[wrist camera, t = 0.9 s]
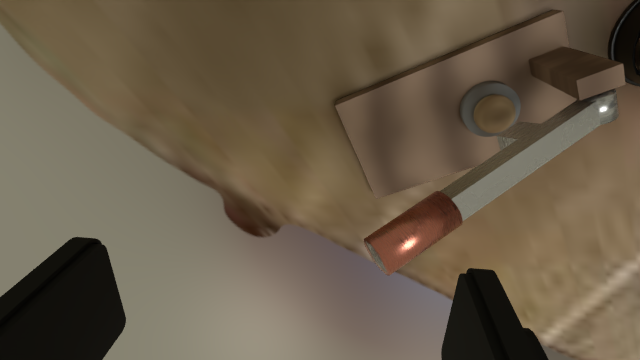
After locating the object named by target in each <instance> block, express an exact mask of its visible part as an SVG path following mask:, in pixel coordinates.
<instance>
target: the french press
mask: <svg viewBox="0 0 640 360" xmlns="http://www.w3.org/2000/svg"><path fill="white" fill-rule="evenodd" d="M639 35H640V0H635V1H634V2H633V3H632V4H631V5H630V6H629V7H628V8H627V9H626V10H625V11H624V12H623V14H622V15H621V17H620V18H619V20H618V21H617V23H616V25H615V27H614V29H613V31H612V34H611V37H610V41H609V49H608V54H609V59H610V60H613V61H617V62H620V63H623V66H624V75H625V82H628V83H630V84H632V85H635V86H640V71H639V70H637V68H636V65H635V48H636V44H637V41H638V38H639Z"/></svg>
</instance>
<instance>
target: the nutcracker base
mask: <svg viewBox="0 0 640 360" xmlns="http://www.w3.org/2000/svg"><path fill="white" fill-rule="evenodd" d="M623 85H626V84H625V75H624V66H623V63H620V62H617V61H613V60H610V59H606V58H603V57H599V56H596V55H592V54H589V53H585V52H582V51H578V50H575V49H571V48H570V47H569V41H568V35H567V29H566V23H565V17H564V11H560V10H552V11H549V12H547V13H544V14H542V15H540V16H537V17H535V18H532V19H530V20H528V21H525V22H523V23H521V24H518V25H516V26H513V27H511V28H509V29H506V30H504V31H501V32H499V33H497V34H494V35H492V36H490V37H487V38H485V39H482V40H480V41H478V42H475V43H473V44H470V45H468V46H466V47H463V48H461V49H459V50H456V51H454V52H451V53H449V54H447V55H444V56H442V57H439V58H437V59H435V60H432V61H430V62H428V63H425V64H423V65H420V66H418V67H416V68H413V69H411V70H408V71H406V72H404V73H401V74H399V75H396V76H394V77H392V78H389V79H387V80H385V81H382V82H380V83H377V84H375V85H373V86H370V87H368V88H365V89H363V90H361V91H358V92H356V93H354V94H351V95H349V96H346V97H344V98H342V99H339V100H337V101H336V104H335V107H336V109H337V112H338V114H339V116H340V118H341V121H342V123H343V125H344V128H345V130H346V132H347V134H348V137H349V139H350V141H351V143H352V146H353V148H354V150H355V153H356V155H357V157H358V159H359V162H360V164H361V166H362V168H363V171H364V173H365V175H366V178H367V180H368V182H369V184H370V187H371V189H372V191H373V193H374V196H375V198H376V199H378V198H381V197H384V196H387V195H390V194H393V193H396V192H399V191H402V190H405V189H408V188H411V187H414V186H417V185H420V184H423V183H426V182H429V181H432V180H435V179H438V178H441V177H444V176H448V175H451V174H454V173H457V172H460V171H463V170H466V169H469V168H472V167H475V166H478V165H480V164H481V163H483V162H484V161H486V160H487V159H489V158H490V157H492V156H493V155H495V154H496V153H498V152H499V151H500V147H499V143H498V140H497V135H499V134H500V133H502V132H503V131H505V130H506V129H508V128H509V127H511V126H512V125H514V124H516V123H517V122H519V121H520V122H530V123H540V124H542V123H543V122H545V121H546V120H548V119H549V118H551V117H552V116H554V115H555V114H557V113H558V112H560V111H561V110H563V109H564V108H566V107H567V106H569V105H570V104H572V103H573V102H575V101H576V100H577V99H578V100H583V99H586V98H589V97H591V96H594V95H597V94H600V93H603V92H606V91H609V90H611V89H614V88H617V87H620V86H623Z"/></svg>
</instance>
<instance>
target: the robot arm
mask: <svg viewBox="0 0 640 360" xmlns="http://www.w3.org/2000/svg"><path fill="white" fill-rule="evenodd" d="M125 323H126V317H125V313H124V310H123V306H122V302H121V299H120V295H119V292H118V288H117V284H116V281H115V277H114V273H113V270H112V267H111V263H110V259H109V255H108V252H107V249H106V247H105V246H104V245H102V243H101V242H100V241H99V240H98V239H93V238H82V237H75V238H72V239H70V240H69V241H68V242H66V243H65V244H64V245H63V246H62V247H60V248H59V249H58V250H57V251H56V252H54V253H53V254H52V255H51V256H50V257H48V258H47V259H46V260H45V261H44V262H42V263H41V264H40V265H39V266H37V267H36V268H35V269H34V270H33V271H31V272H30V273H29V274H28V275H27V276H25V277H24V278H23V279H22V280H21V281H20V282H18V283H17V284H16V285H14V286H13V287H12V288H11V289H10V290H9V291H7V292H6V293H5V294H4V295H2V296H1V297H0V360H102V359H103V358H104V356H105V355H106V354H107V352H108V351H109V349H110V348H111V347H112V345H113V344H114V342H115V341H116V340H117V338H118V337H119V335H120V334H121V333H122V331H123V329H124V327H125ZM442 360H548V358H547V356H546V354H545V352H544V350H543V348H542V346H541V344H540V342H539V341H538V339H537V337H536V335H535V334H534V332H533V331H531V330H530V329H529V328H523V327H522V325H521V323H520V321H519V319H518V317H517V315H516V313H515V311H514V309H513V307H512V305H511V303H510V301H509V299H508V297H507V295H506V293H505V291H504V289H503V287H502V285H501V283H500V281H499V279H498V277H497V275H496V273H495V272H494V271H493V270H486V269H473V268H470V269H468V270H467V273H466V274H462V273H461V274H460V275H459V278H458V282H457V286H456V290H455V295H454V299H453V303H452V307H451V312H450V316H449V320H448V324H447V329H446V333H445V337H444V341H443V345H442Z"/></svg>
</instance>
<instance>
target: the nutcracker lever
mask: <svg viewBox="0 0 640 360" xmlns="http://www.w3.org/2000/svg"><path fill="white" fill-rule="evenodd" d="M618 116H619V112H618V104H617V97H616V90H615V88H614V89H611V90H609V91H606V92H603V93H600V94H597V95H594V96H591V97H589V98H586V99H583V100H578V99H577V100H576V101H575V102H573V103H572V104H570V105H569V106H567V107H566V108H564V109H563V110H561V111H560V112H558V113H557V114H555V115H554V116H552V117H551V118H549V119H548V120H546V121H545V122H543V123H542V124H540V123H530V122H520V121H519V122H517V123H516V124H514V125H512V126H511V127H509V128H508V129H506V130H505V131H503V132H502V133H500V134H499V135H497V140H498V143H499V147H500V151H499V152H498V153H496V154H495V155H493V156H492V157H490V158H489V159H487V160H486V161H484V162H483V163H481V164H480V165H478V166H477V167H475V168H474V169H472V170H471V171H469V172H468V173H466V174H465V175H463V176H462V177H460V178H459V179H457V180H456V181H454V182H453V183H451V184H450V185H448V186H447V187H445V188H444V189H442V190H441V191H436V192H434V193H433V194H431V195H429V196H428V197H426V198H425V199H423V200H422V201H420V202H419V203H417V204H416V205H414V206H413V207H411V208H410V209H408V210H407V211H405V212H404V213H402V214H401V215H399V216H398V217H396V218H395V219H393V220H392V221H390V222H389V223H387V224H386V225H384V226H383V227H381V228H380V229H378V230H377V231H375V232H374V233H372V234H371V235H369V236H368V237H366V238H365V239H364V244H365V246H366V249H367V251H368V252H369V254H370V256H371V257H372V259H373V260H374V262H375V263H376V264H377V266H378V267H379V268H380V269H381V270H382V271H383V272H384V273H385V274H386V275H391V274H392V273H393V272H395V271H396V270H398V269H399V268H401V267H402V266H403V265H405V264H406V263H408V262H409V261H411V260H412V259H413V258H415V257H416V256H418V255H419V254H421V253H422V252H423V251H425V250H426V249H428V248H429V247H431V246H432V245H433V244H435V243H436V242H438V241H439V240H441V239H442V238H443V237H445V236H446V235H448V234H449V233H451V232H452V231H453V230H455V229H456V228H458V227H459V226H461V225H462V222H463V221H464V220H465V219H466V218H468V217H469V216H471V215H472V214H474V213H475V212H476V211H478V210H479V209H481V208H482V207H484V206H485V205H487V204H488V203H489V202H491V201H492V200H494V199H495V198H497V197H498V196H499V195H501V194H502V193H504V192H505V191H507V190H508V189H509V188H511V187H512V186H514V185H515V184H517V183H518V182H519V181H521V180H522V179H524V178H525V177H527V176H528V175H529V174H531V173H532V172H534V171H535V170H537V169H538V168H539V167H541V166H542V165H544V164H545V163H547V162H548V161H550V160H551V159H552V158H554V157H555V156H557V155H558V154H560V153H561V152H562V151H564V150H565V149H567V148H568V147H570V146H571V145H572V144H574V143H575V142H577V141H578V140H580V139H581V138H582V137H584V136H585V135H587V134H588V133H590V132H591V131H592V130H594V129H595V128H597V127H598V126H600V125H601V124H606V123H609V122H611V121H613V120H615V119H617V118H618Z"/></svg>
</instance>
